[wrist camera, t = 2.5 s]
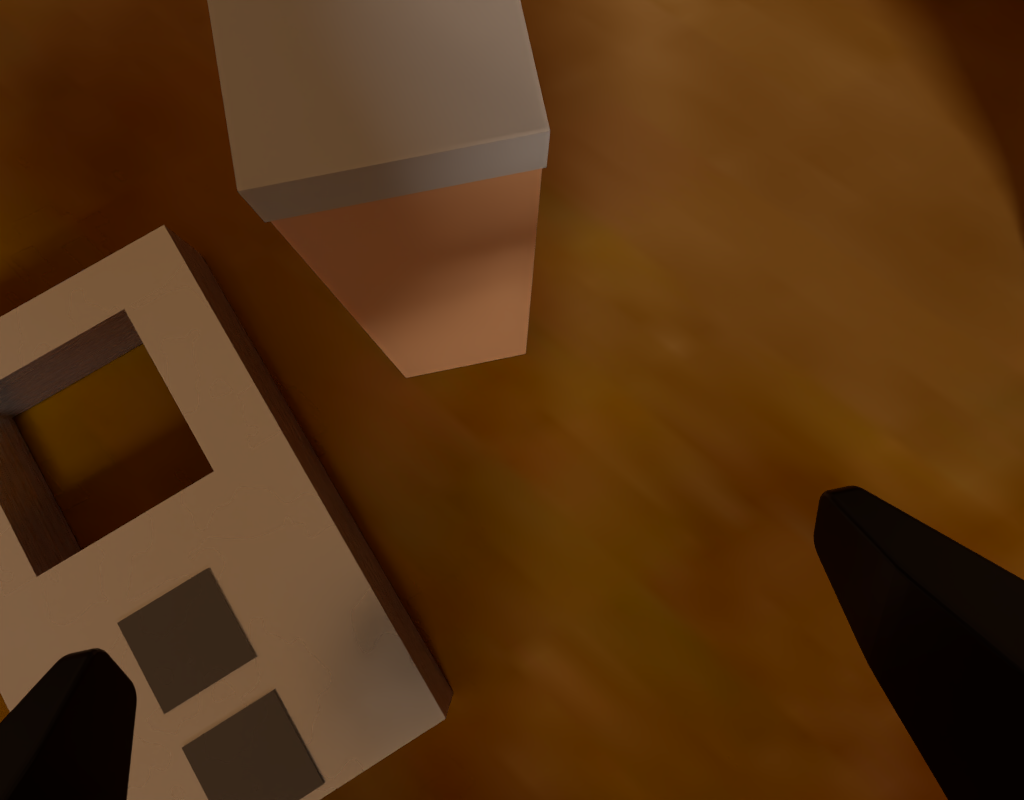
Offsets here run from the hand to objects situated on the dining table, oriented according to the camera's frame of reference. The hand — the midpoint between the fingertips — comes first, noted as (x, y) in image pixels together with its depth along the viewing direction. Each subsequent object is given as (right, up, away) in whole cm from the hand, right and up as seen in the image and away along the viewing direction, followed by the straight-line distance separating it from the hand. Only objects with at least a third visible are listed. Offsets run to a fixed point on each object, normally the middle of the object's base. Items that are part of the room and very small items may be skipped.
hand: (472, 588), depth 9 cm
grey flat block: (-10, -2, +13) cm, 17 cm away
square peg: (-1, +5, +14) cm, 15 cm away
